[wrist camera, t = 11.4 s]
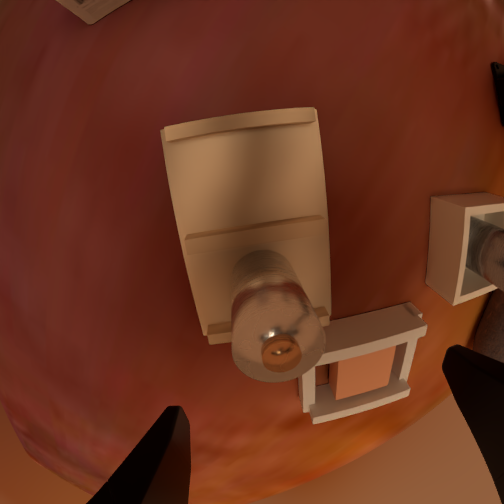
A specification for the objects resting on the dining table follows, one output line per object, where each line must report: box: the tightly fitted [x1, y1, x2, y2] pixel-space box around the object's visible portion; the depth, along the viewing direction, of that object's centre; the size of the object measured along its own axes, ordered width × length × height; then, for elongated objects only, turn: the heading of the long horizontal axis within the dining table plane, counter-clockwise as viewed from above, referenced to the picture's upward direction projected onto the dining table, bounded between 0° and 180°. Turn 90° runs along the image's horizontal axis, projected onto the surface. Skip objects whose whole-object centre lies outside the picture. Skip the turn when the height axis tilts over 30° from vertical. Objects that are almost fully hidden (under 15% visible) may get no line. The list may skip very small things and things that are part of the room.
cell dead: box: [465, 216, 504, 292], centre depth 15 cm, size 4×4×8 cm
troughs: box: [160, 107, 331, 345], centre depth 17 cm, size 9×14×2 cm, turn 8°
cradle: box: [298, 302, 427, 424], centre depth 20 cm, size 10×8×4 cm
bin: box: [425, 192, 504, 306], centre depth 17 cm, size 7×7×4 cm
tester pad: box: [329, 346, 396, 400], centre depth 21 cm, size 5×5×2 cm
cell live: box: [231, 250, 326, 382], centre depth 14 cm, size 4×4×8 cm
